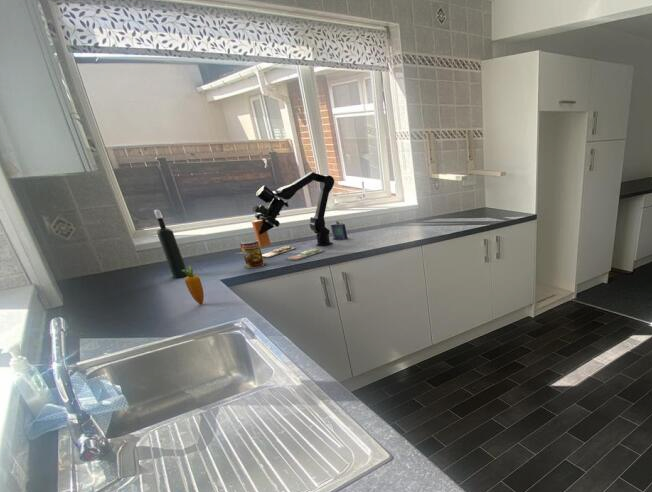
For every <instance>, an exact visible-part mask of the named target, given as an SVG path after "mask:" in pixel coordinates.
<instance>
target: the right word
mask: <svg viewBox="0 0 652 492" xmlns="http://www.w3.org/2000/svg"><path fill="white" fill-rule="evenodd" d="M323 252H324V249H319V248H310V249H308V250H305V251H302V252H299V254H295V255H292V256H289V257H286V260H288V261H300V260H302V259H306V258H309V257H311V256H314V255H318V254H319V253H323Z"/></svg>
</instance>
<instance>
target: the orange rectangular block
mask: <svg viewBox="0 0 652 492" xmlns="http://www.w3.org/2000/svg"><path fill="white" fill-rule="evenodd" d="M251 224H252V228H253V231H254V236H255V238H256V239H255V240H258V243H259V246H260V248H262V247H263V248H264V247H267V246H271V244H272V243H271V241H270V237H269V236H270V235H269V234H268V231H266V232H264V233H263V234H259V232H260V229H261V227H262V225H263V221H262V219H260V220H257V219H255V220H251Z"/></svg>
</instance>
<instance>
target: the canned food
mask: <svg viewBox="0 0 652 492" xmlns="http://www.w3.org/2000/svg"><path fill="white" fill-rule="evenodd" d="M239 245H240V249H241V252H242V254H243V259H244V262H245V265H246V268H249V269H254V268H255V269H256V268H260V267H263V266H265V262H264V261H265V260H264V257H262V254H263V253H262V251H261V247H260V246H259V243H258V240H257V239H247V240H242V241H239Z"/></svg>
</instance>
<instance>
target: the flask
mask: <svg viewBox="0 0 652 492" xmlns="http://www.w3.org/2000/svg"><path fill="white" fill-rule="evenodd" d="M329 225H330V226H329V227H330V229H331V235H332V239H333V240H348V234H347V229H346V224H345V223H343V222H339V220H336V221H335V223H330V224H329Z"/></svg>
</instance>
